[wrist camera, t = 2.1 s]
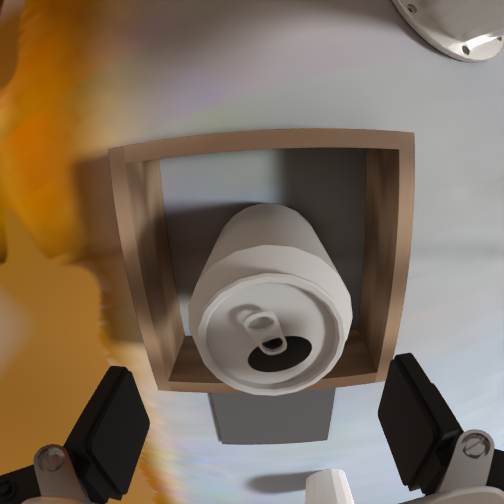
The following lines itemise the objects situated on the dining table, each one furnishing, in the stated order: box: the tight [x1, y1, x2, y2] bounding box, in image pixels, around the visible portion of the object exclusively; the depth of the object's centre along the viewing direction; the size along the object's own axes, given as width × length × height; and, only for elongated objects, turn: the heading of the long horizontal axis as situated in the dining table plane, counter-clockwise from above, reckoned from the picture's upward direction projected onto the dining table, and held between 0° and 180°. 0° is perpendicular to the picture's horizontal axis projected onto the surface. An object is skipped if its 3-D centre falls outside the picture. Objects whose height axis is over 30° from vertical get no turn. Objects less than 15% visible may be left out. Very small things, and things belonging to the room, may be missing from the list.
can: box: [189, 203, 353, 396], centre depth 18 cm, size 8×8×12 cm
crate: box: [108, 129, 415, 393], centre depth 21 cm, size 17×17×6 cm
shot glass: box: [305, 469, 354, 504], centre depth 31 cm, size 7×7×7 cm
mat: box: [211, 388, 335, 445], centre depth 29 cm, size 12×12×1 cm
